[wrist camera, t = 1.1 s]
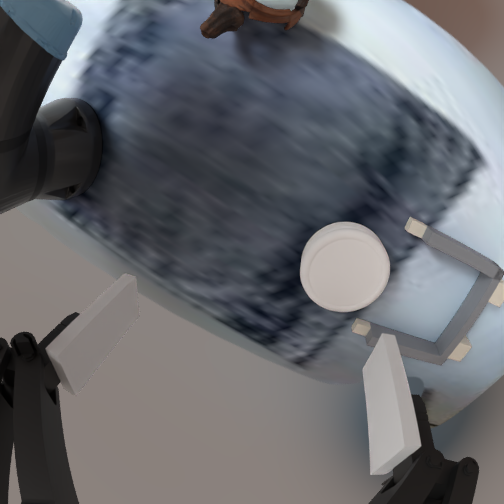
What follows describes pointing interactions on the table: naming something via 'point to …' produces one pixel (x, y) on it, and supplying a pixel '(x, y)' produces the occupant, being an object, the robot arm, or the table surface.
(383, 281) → the white round disc
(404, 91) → the table surface
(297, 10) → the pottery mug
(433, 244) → the grey u-shaped frame
